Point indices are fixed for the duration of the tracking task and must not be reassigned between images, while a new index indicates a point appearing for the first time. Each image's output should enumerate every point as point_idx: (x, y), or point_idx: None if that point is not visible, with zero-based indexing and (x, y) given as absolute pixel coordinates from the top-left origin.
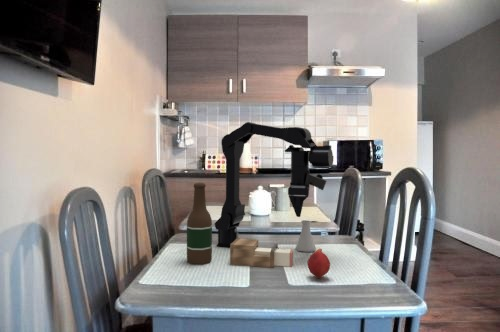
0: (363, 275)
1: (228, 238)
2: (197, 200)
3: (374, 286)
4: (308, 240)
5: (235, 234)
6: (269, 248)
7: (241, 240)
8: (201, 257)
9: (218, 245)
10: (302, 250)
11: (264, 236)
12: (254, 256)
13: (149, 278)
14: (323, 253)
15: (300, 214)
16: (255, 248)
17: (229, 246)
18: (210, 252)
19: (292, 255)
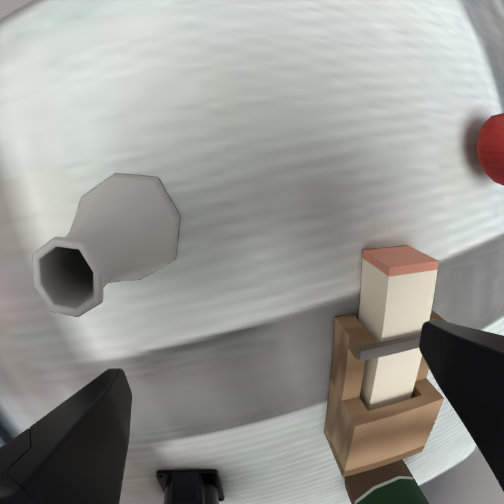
0: (420, 8)
1: (215, 500)
2: None
3: (479, 16)
4: (143, 218)
5: (199, 501)
6: (380, 362)
7: (373, 456)
8: (405, 465)
9: (223, 496)
10: (176, 237)
11: (21, 412)
12: (426, 374)
13: (457, 458)
14: None
15: (453, 324)
16: (383, 401)
17: (219, 478)
18: (392, 468)
19: (396, 258)
